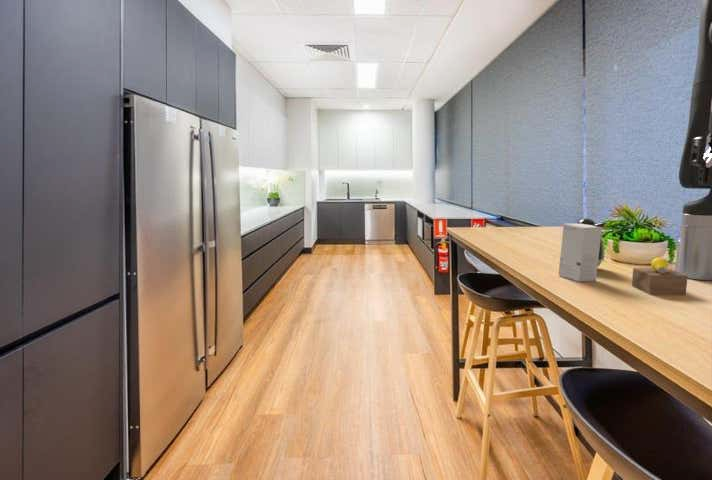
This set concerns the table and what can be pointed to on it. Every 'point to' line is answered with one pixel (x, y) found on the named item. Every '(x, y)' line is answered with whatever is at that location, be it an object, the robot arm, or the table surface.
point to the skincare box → (580, 252)
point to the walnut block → (659, 282)
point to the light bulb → (660, 265)
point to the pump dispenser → (601, 251)
